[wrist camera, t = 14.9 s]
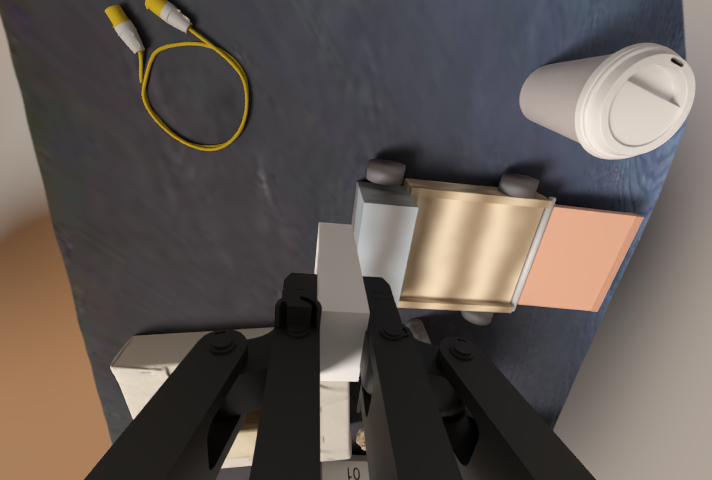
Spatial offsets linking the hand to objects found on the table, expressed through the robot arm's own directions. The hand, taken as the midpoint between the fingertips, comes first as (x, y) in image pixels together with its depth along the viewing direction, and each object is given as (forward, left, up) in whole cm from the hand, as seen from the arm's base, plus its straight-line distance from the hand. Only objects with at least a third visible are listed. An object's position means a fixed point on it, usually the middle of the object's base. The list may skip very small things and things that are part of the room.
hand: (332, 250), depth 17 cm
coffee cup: (-18, +20, -30) cm, 40 cm away
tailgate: (-1, +32, -26) cm, 41 cm away
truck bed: (+4, +20, -29) cm, 36 cm away
